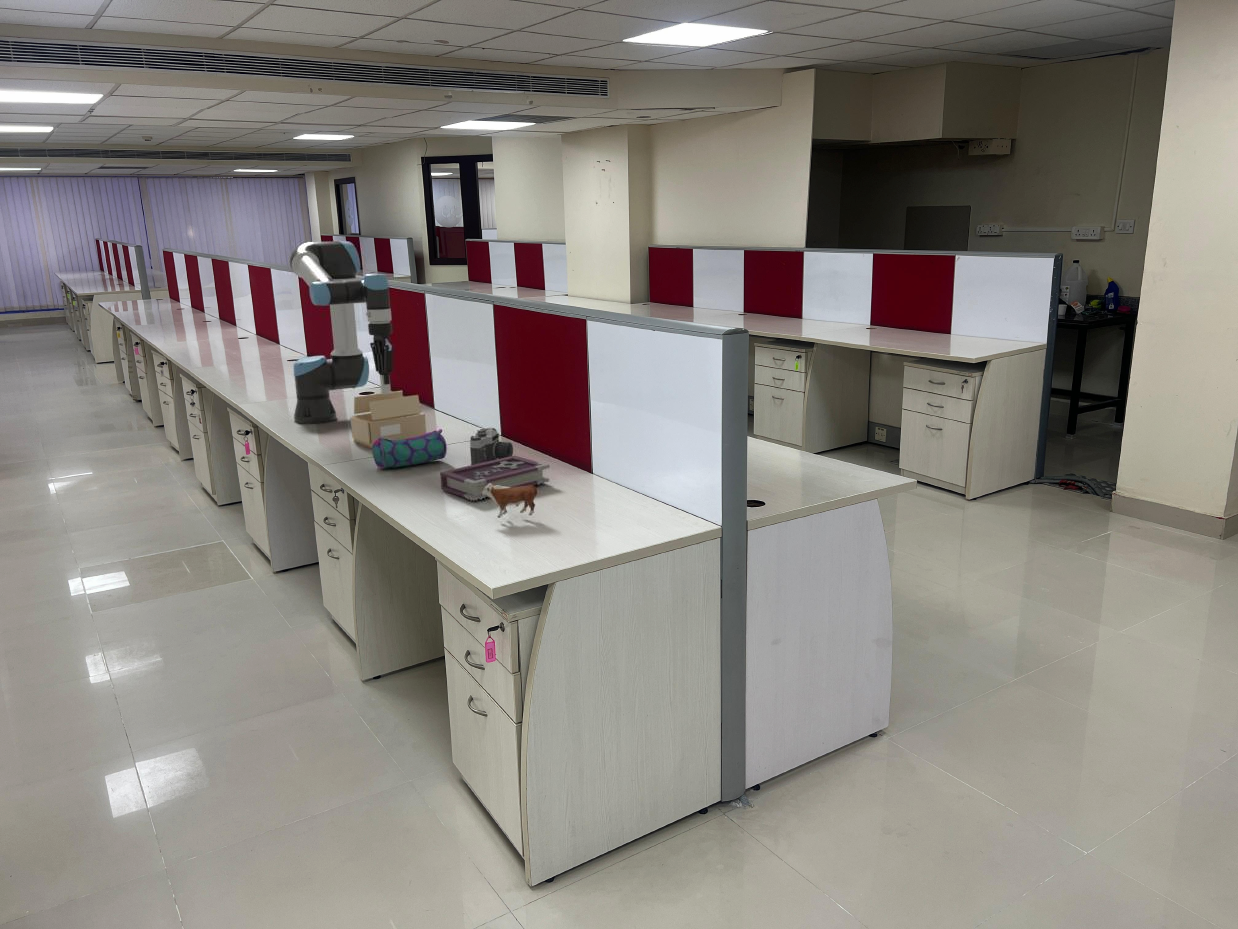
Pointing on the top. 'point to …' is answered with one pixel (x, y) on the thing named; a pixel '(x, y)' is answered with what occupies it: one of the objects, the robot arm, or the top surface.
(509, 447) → the camera
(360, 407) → the flap
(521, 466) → the book
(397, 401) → the flap
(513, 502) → the bull figurine
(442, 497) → the top surface
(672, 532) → the top surface
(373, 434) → the carton
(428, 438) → the pencil case
